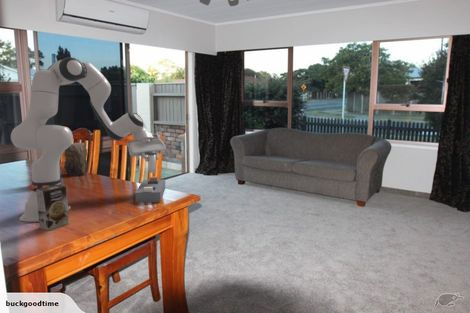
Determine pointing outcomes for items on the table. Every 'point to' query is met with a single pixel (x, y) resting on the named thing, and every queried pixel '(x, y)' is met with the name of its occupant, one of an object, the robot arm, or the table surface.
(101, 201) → the table surface
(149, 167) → the plug
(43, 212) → the coffee box
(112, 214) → the table surface
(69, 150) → the owl
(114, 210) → the table surface
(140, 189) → the socket block
